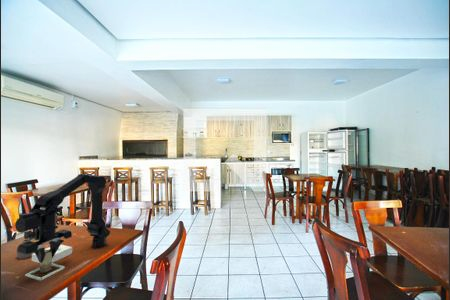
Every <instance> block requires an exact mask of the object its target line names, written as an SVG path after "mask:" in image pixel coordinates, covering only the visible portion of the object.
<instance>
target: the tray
mask: <svg viewBox="0 0 450 300" xmlns="http://www.w3.org/2000/svg"><path fill="white" fill-rule="evenodd" d="M52 267H55V268H56V269H55V270H54V271H52V272H49V273H47V274H46V275H44V276H42V277H40V276H36V275H34V273H36V272H38V271H40V267H37V268H36V269H33V270H32V271H29V272H27V273H25V274H24V277H26V278H27V277H28V278H30V279H34V280H37V281H40V282H41V281H43V280H45V279H47V278H48V277H51V276H52V275H54V274H57V273H58V272H60V271H62V270H64V269H65V268H66V266H65V265H61V264H56V263H54V262H53V263H52Z"/></svg>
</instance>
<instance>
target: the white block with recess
mask: <svg viewBox="0 0 450 300" xmlns="http://www.w3.org/2000/svg"><path fill="white" fill-rule="evenodd" d="M48 249H50V246H49V247H45V250H48ZM72 254H73V247H72V246H69V245H64V244H61V245H60V246H59V248H58V250H57V251H56V253H55V255H54V256H53V258H52V263H53V264H54V263H55V262H58V261H59V260H61V259H63V258H65V257H67V256H70V255H72ZM31 262H34V263H38V264H40V262H39V261H38V258H37V256H36V254H35V253H33V254H32V257H31Z"/></svg>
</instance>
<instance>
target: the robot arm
mask: <svg viewBox="0 0 450 300" xmlns="http://www.w3.org/2000/svg"><path fill="white" fill-rule="evenodd" d="M106 182H107V178H106V177H105V176H103V175H101V176H100V175H89V174H85V173H80V174H79V173H78V175H77V176H75V177H74V178H73V179H71V180H69V181H68V182H67V183H65V184H63V185H61V186H60V187H59V188H57V189H55V190H53V191H49V192H46V193H44V194H42V195H40V196H39V197H38V198H37V201H36V202H35V203H34V205H33V207H31V209H30V210H29V212H28V213H21V214H19V217H18V218H17V219H16V222H15V223H14V227H15V230H16V231H17V232H18V233H23V238H24V240H26V239H29V240H31V242H30V241H28V242H25V243H23V244H22V243H19V245H18V246H17V248H16V253H17V252H20V253H24V254H29V253H32V252H34V253H35V254H36V256H37V258H38V261H39V262H40V263H42V262H43V257H44V252H45V249H46V247H43V245H45V244H49V247H50V249H51V250H52V258H53V256H54V255H55V253H56V251H57V250H58V248H59V246H60V245H62V243H64V242H65V240H67V239H70V238H72V236H73V232H72V230H68V229H61V230H58V231H56V230H57V229H58V228H59V225H56V224H57V213H60V212H62V209H61V208H59V206H60V205H61V204H62V203H63V201H64V200H65V198H67V196H69V195H70V194H71V193H73V192H75V191H76V190H77V189H79V188H80V187H82V186H83V185H84V184H87V187H88V190H89V191H90V192H91V219H90V221H89V222H87V224H86V226H87V229H86V231H87V232H88V233H89V236H90V237H92V243H91V249H96V250H97V249H99V248H104V247H105V246H109V243H107V239H108V237H109V236H110V234H111V230H110V229H108V228H107V224H106V221H105V220H104V217H103V192H104V189H105V188H106V185H107V184H106ZM32 230H34V231H32ZM63 238H64V239H65V240H64V239H63ZM32 240H35V242H34V241H32ZM40 263H39V264H40Z"/></svg>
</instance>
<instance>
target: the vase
mask: <svg viewBox="0 0 450 300" xmlns="http://www.w3.org/2000/svg"><path fill="white" fill-rule="evenodd" d="M28 241H30V242H32V240H29V239H24V240H23V241H22V243H21V244H23V243H25V242H28ZM33 253H34V252H32V253H29V254H24V253H20V252H17V251H16V257H17V258H18V259H19V260H26V259H30V258H32V254H33Z"/></svg>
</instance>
